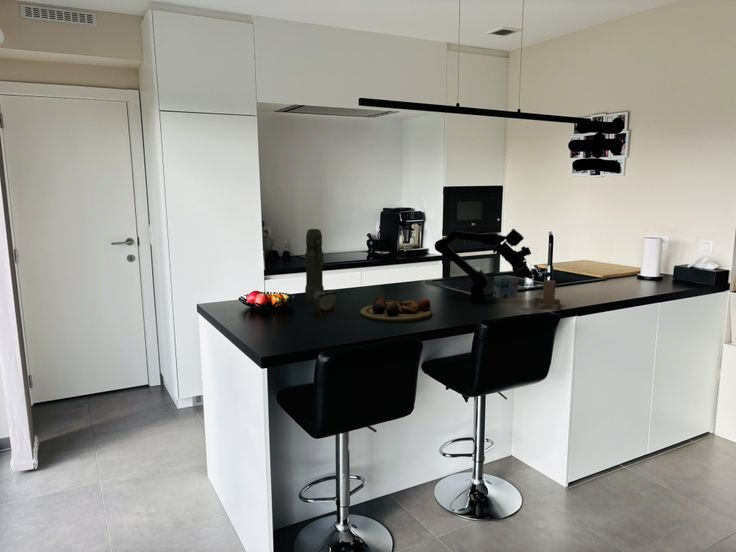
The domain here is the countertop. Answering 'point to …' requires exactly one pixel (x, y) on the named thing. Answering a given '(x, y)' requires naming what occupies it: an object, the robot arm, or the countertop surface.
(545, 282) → the block
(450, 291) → the countertop surface
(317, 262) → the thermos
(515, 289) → the light bulb box
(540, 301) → the sleeve
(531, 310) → the trivet
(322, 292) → the food container
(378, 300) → the wooden plate with food
